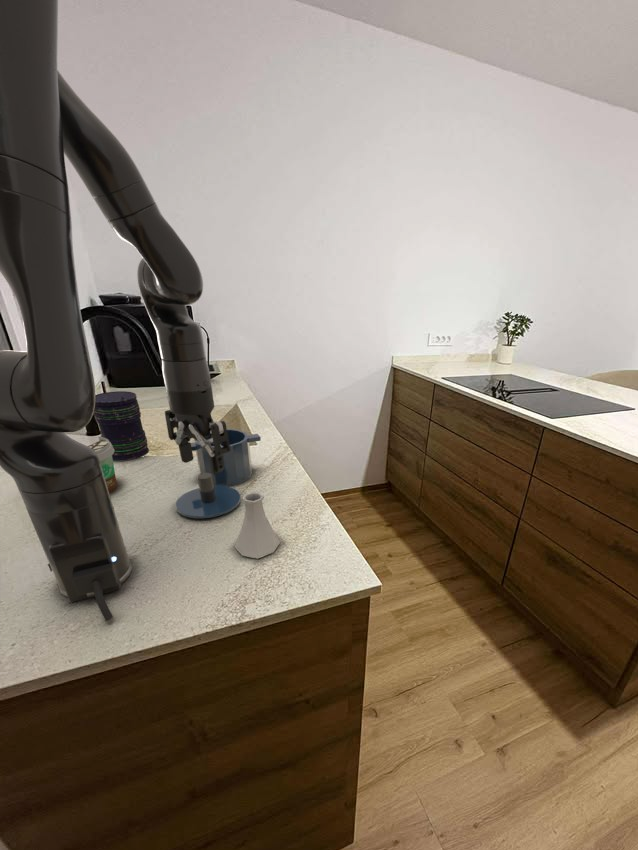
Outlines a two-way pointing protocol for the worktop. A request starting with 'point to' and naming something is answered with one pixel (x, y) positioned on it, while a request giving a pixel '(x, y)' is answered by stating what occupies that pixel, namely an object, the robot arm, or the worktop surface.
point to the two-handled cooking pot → (229, 458)
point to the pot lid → (207, 499)
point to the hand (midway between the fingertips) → (202, 466)
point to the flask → (256, 529)
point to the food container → (106, 461)
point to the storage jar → (121, 424)
